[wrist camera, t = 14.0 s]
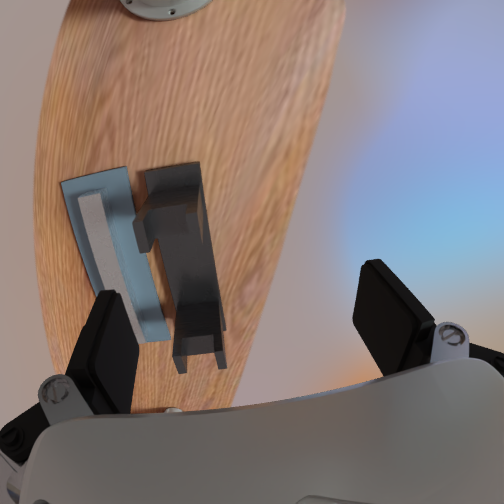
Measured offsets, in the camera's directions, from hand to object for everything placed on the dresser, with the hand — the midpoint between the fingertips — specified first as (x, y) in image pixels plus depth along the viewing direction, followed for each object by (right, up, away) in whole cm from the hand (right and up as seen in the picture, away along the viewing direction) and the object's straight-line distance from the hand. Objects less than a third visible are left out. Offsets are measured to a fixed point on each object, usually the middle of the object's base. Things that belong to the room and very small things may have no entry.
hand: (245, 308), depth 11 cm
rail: (-18, 0, +27) cm, 32 cm away
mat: (-18, 0, +27) cm, 32 cm away
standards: (-8, +1, +28) cm, 29 cm away
